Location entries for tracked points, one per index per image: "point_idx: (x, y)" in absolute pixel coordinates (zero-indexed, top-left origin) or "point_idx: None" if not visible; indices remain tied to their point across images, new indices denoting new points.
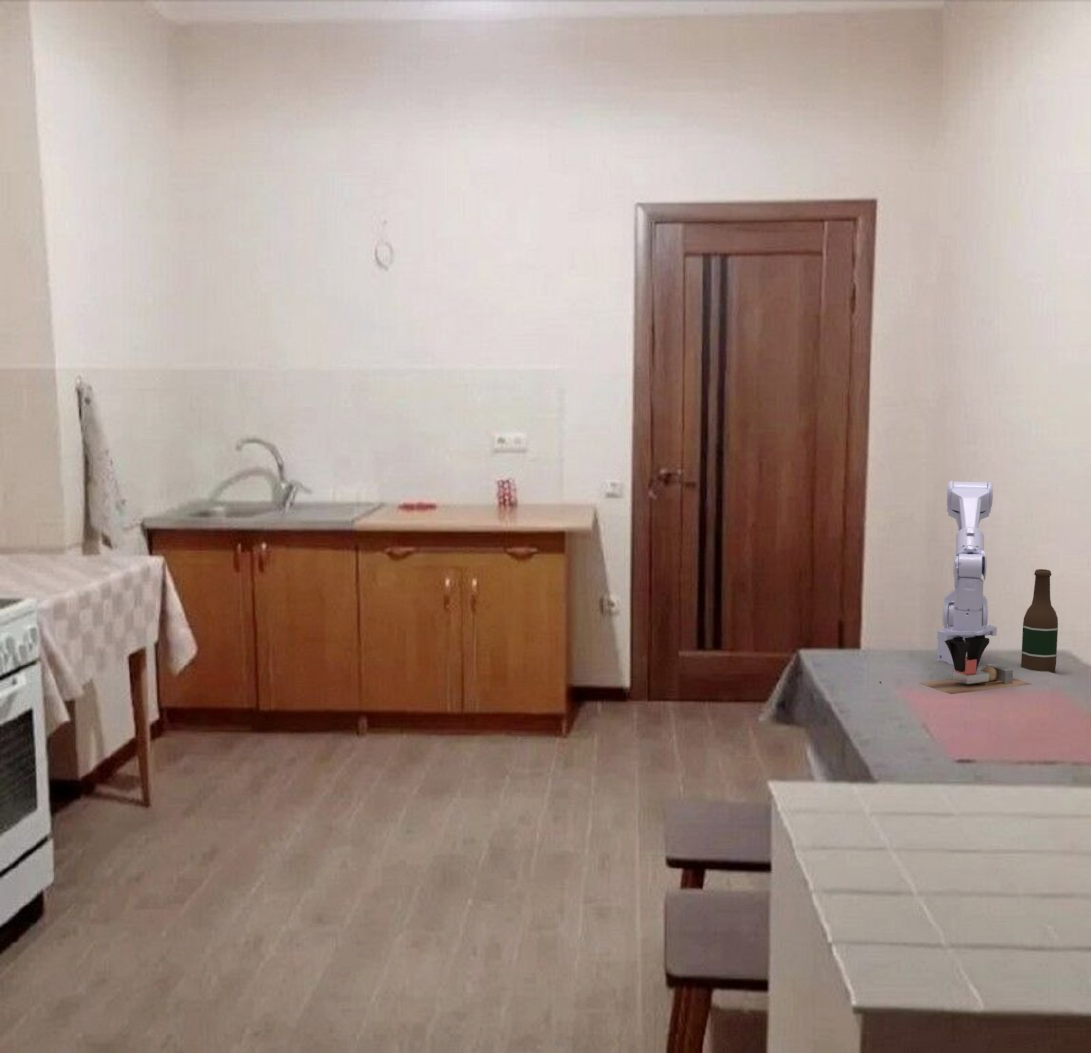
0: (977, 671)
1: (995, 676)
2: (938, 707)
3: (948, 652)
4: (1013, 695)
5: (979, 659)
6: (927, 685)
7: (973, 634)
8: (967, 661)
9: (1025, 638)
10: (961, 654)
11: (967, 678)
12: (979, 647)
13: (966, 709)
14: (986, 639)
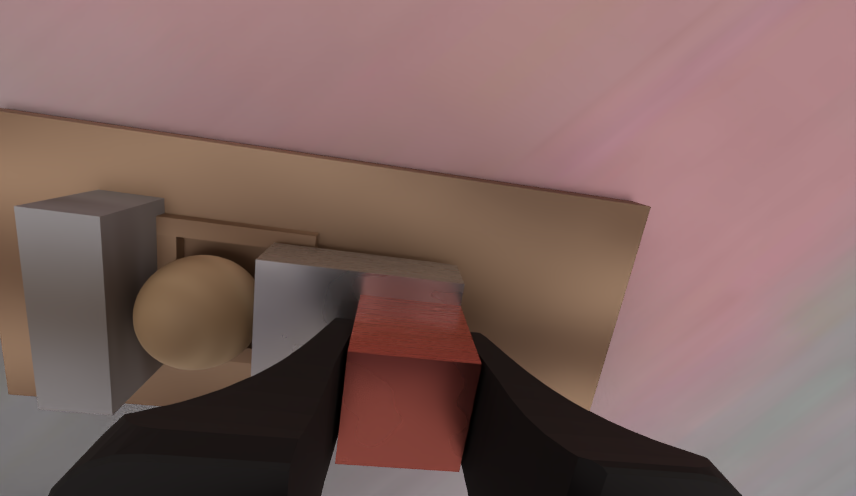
0: (295, 334)
1: (190, 256)
2: (818, 127)
3: None
4: (240, 69)
5: (312, 345)
6: (592, 386)
7: None
8: (459, 355)
9: None
10: (572, 403)
11: (460, 276)
12: (317, 414)
13: (749, 8)
14: (167, 468)
